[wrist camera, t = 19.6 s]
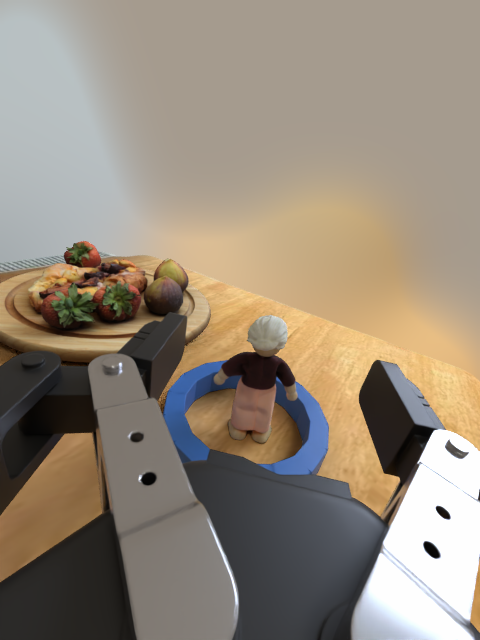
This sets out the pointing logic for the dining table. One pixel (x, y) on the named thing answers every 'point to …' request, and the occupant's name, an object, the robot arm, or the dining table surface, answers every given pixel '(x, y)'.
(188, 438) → the tape ring
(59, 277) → the wooden plate
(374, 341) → the dining table surface
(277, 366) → the grandmother figurine
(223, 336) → the dining table surface
